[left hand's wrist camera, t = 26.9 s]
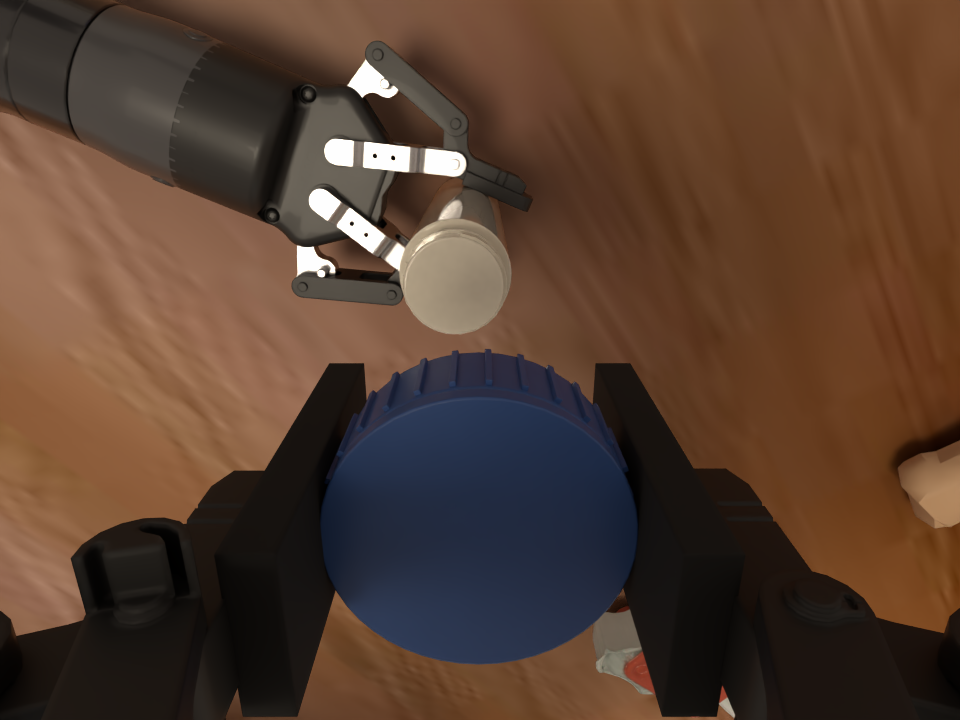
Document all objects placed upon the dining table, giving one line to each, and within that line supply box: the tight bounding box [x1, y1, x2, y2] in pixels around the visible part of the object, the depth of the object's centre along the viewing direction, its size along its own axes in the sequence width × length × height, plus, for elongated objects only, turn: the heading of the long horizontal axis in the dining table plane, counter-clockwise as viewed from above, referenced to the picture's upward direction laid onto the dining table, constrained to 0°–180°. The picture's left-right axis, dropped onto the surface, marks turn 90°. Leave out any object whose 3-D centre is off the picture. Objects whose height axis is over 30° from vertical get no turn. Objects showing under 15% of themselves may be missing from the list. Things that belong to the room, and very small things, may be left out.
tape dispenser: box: [593, 606, 735, 718], centre depth 50 cm, size 18×5×20 cm
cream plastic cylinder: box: [399, 177, 512, 334], centre depth 31 cm, size 4×4×19 cm
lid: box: [320, 349, 639, 664], centre depth 11 cm, size 5×5×2 cm
